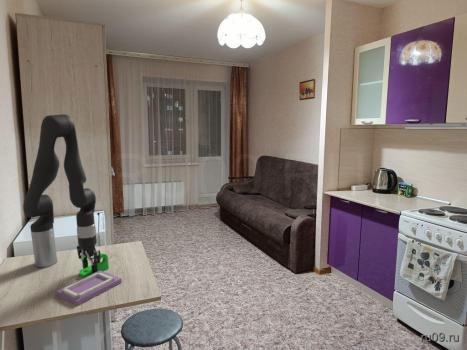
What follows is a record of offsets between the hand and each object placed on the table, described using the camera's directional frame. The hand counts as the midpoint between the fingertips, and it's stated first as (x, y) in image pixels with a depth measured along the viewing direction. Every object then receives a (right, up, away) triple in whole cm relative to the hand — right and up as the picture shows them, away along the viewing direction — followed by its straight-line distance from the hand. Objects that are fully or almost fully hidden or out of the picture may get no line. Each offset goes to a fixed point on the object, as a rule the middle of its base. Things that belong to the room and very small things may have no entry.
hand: (90, 269), depth 145 cm
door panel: (+5, -4, -12) cm, 14 cm away
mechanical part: (+1, -2, +1) cm, 2 cm away
